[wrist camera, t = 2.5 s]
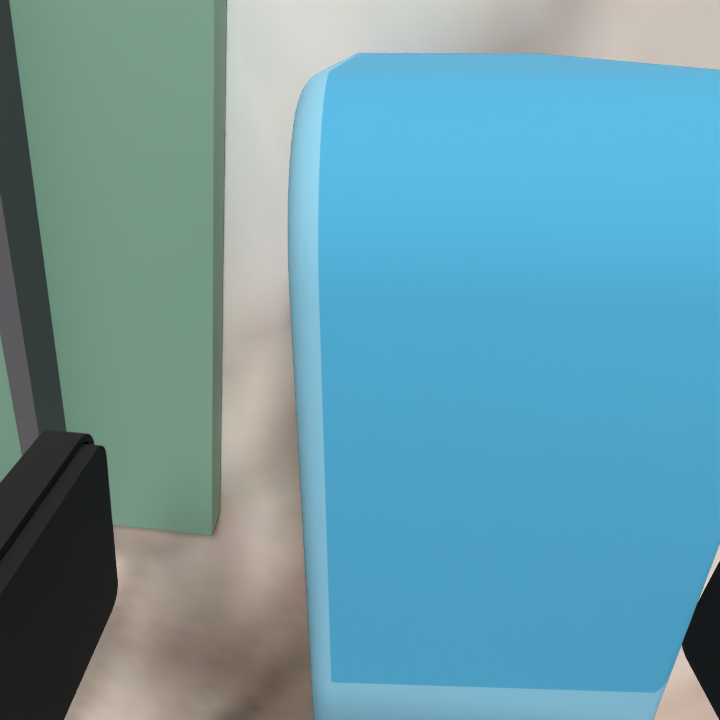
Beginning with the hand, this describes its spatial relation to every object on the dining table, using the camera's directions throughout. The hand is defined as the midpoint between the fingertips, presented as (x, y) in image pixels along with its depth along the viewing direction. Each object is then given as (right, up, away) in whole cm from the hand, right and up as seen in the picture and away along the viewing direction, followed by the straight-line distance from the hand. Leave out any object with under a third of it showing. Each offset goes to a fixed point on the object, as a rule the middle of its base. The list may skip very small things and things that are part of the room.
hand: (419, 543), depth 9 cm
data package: (+1, +5, +9) cm, 10 cm away
